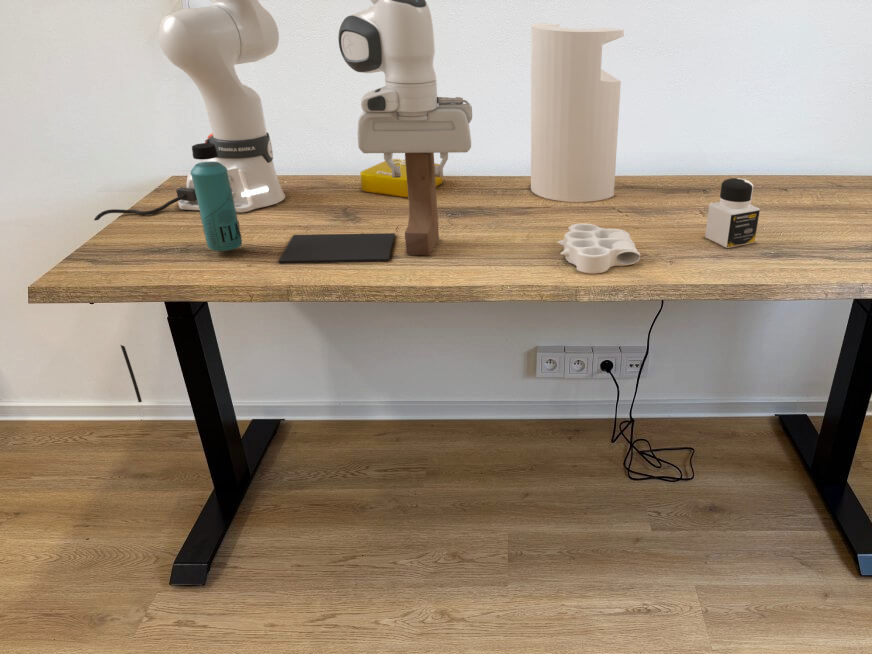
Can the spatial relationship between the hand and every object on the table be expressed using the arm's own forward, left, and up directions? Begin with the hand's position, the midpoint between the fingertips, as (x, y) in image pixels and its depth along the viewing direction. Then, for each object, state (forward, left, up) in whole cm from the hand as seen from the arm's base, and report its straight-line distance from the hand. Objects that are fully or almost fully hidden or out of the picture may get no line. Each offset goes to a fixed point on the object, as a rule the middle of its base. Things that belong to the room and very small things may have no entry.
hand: (417, 176), depth 143 cm
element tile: (-7, +41, -14) cm, 44 cm away
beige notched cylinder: (+31, +34, -14) cm, 48 cm away
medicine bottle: (+61, +1, -14) cm, 63 cm away
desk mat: (-16, 0, -14) cm, 21 cm away
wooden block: (0, 0, -14) cm, 14 cm away
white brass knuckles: (+33, -6, -14) cm, 36 cm away
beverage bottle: (-37, -1, -14) cm, 40 cm away
